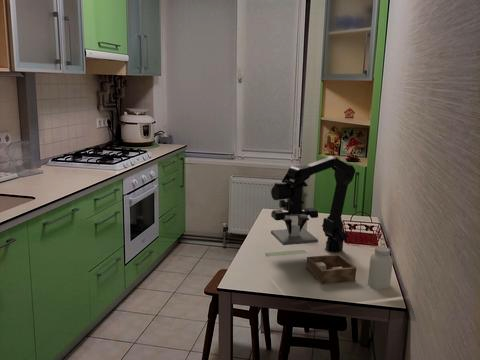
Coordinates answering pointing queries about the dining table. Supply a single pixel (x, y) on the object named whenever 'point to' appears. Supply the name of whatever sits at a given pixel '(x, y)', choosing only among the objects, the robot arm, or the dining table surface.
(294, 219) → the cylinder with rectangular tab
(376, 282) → the pill bottle
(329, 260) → the storage box
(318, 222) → the dining table surface
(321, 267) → the cream cube
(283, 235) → the lid
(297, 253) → the mat
